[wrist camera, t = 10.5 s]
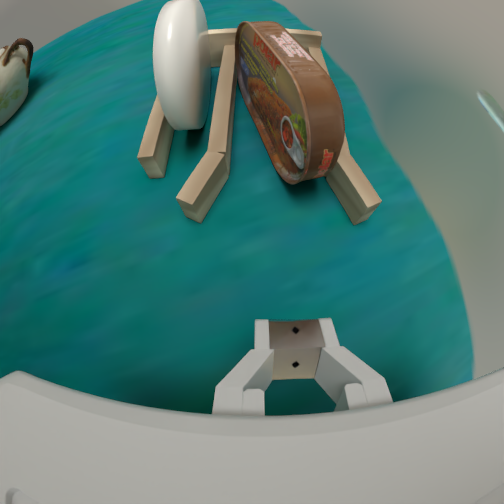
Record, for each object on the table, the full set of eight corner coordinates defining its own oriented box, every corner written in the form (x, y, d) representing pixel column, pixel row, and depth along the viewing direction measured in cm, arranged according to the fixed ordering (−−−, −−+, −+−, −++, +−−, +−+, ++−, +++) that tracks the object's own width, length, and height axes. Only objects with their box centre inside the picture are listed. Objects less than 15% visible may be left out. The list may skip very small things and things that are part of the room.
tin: (233, 80, 23) (227, 8, 15) (264, 75, 24) (265, 4, 16) (290, 208, 19) (309, 123, 11) (330, 197, 19) (367, 115, 11)
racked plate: (181, 158, 20) (137, 40, 10) (198, 76, 24) (181, -15, 13) (200, 157, 20) (167, 34, 10) (214, 75, 24) (201, -18, 13)
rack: (141, 224, 19) (114, 195, 15) (182, 65, 24) (174, 34, 20) (367, 225, 18) (393, 196, 14) (329, 65, 24) (336, 34, 20)
